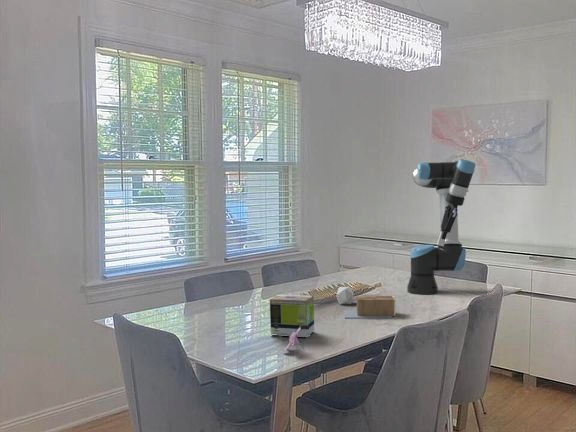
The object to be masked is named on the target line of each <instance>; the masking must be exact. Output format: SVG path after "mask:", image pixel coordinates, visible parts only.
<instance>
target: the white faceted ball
mask: <svg viewBox="0 0 576 432" xmlns="http://www.w3.org/2000/svg"><path fill="white" fill-rule="evenodd" d="M336 294H337V295H335V298H336V297H337V298H336V300H337V301H338V304H339V305H351V304H352V302H353V300H354V296H355V294H354V292H353V290H352V288H351V286H339V287H338V290H337V292H336Z"/></svg>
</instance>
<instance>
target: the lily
mask: <svg viewBox="0 0 576 432" xmlns="http://www.w3.org/2000/svg"><path fill="white" fill-rule="evenodd" d="M300 327H301V326H300ZM300 327H299V329H298V330H297V332H296V333H295V332H293V333H292V335H291V336H290V337H287V339H289V343H288V344H287V346H286V347H285V349H284V351H285V352H286V351H287V349H288V348H289V347H291V346H294V345H297V344H298V345H300V346H301V348H302V349H304V347H303V346H302V345H301V343H300V342H299V338H298V331H299V330H300V329H301V328H300ZM304 350H305V349H304Z"/></svg>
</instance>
